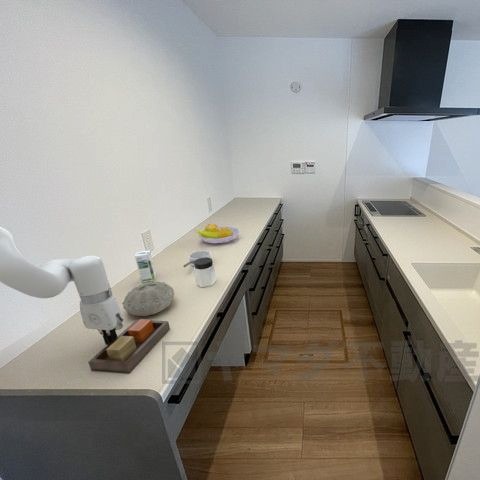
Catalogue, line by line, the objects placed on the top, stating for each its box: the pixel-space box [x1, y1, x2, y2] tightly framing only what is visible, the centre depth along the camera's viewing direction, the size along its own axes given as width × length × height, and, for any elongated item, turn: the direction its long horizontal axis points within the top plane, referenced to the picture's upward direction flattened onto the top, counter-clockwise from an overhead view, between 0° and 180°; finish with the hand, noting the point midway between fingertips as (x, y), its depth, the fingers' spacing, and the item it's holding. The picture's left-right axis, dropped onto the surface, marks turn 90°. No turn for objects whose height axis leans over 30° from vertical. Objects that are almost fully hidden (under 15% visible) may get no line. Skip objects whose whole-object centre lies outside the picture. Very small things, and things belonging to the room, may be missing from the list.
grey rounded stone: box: [122, 281, 175, 317], centre depth 107 cm, size 18×18×10 cm
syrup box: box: [134, 250, 157, 283], centre depth 128 cm, size 6×6×14 cm
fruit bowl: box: [194, 223, 240, 244], centre depth 181 cm, size 28×27×11 cm
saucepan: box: [182, 250, 212, 268], centre depth 143 cm, size 12×20×6 cm, turn 173°
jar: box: [193, 257, 217, 288], centre depth 126 cm, size 9×8×12 cm
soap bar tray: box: [87, 318, 171, 375], centre depth 87 cm, size 12×20×6 cm, turn 176°
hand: (112, 341), depth 88 cm, fingers closed
